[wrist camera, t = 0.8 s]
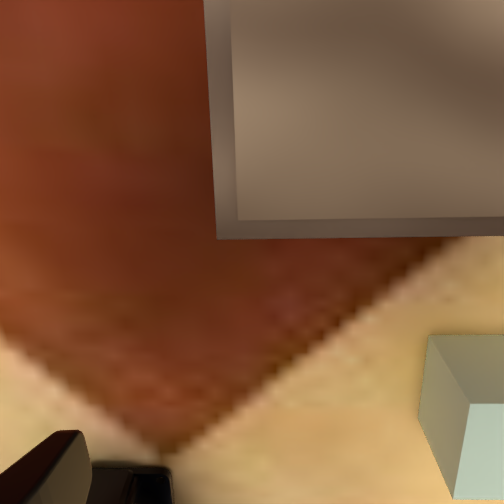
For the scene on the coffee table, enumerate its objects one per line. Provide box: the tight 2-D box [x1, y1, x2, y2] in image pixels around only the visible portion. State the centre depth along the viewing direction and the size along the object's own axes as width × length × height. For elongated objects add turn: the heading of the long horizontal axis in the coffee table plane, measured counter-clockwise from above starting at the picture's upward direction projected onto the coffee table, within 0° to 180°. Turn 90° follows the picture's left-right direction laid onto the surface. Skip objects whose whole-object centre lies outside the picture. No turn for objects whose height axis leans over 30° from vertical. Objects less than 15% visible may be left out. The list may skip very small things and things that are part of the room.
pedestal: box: [204, 0, 504, 240], centre depth 16 cm, size 12×12×4 cm
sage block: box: [418, 335, 504, 500], centre depth 21 cm, size 5×5×5 cm
